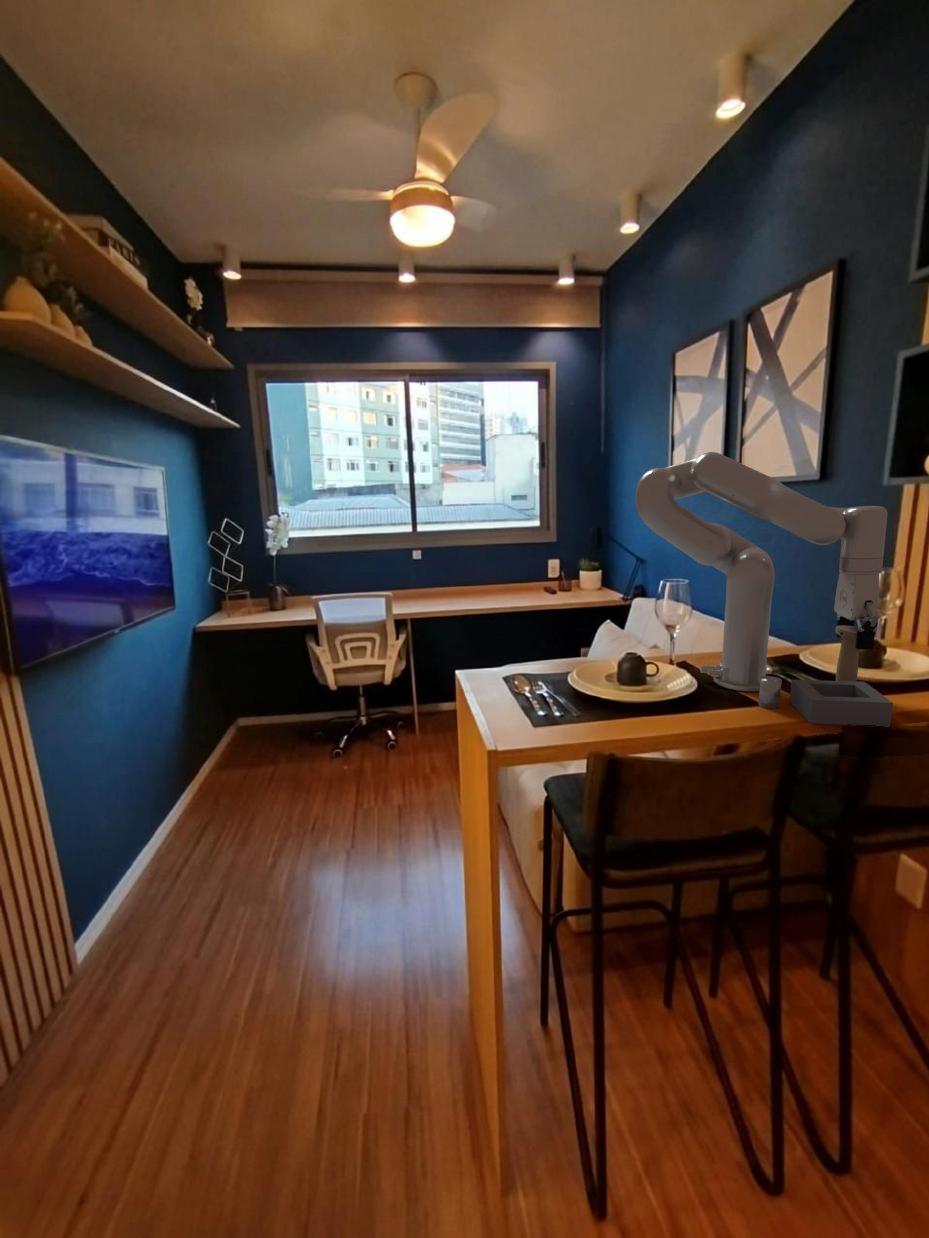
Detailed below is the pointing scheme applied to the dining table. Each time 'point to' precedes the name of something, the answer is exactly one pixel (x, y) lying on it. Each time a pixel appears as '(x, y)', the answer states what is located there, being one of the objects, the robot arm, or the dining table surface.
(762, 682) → the short peg
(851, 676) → the handle
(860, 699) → the block
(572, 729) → the dining table surface
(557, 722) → the dining table surface
